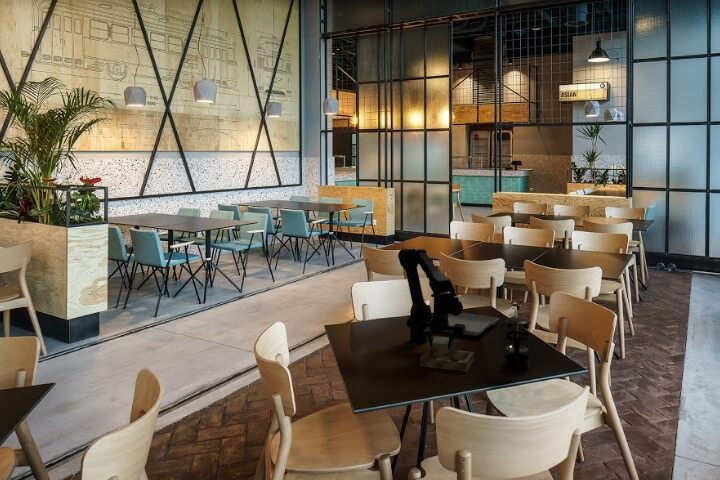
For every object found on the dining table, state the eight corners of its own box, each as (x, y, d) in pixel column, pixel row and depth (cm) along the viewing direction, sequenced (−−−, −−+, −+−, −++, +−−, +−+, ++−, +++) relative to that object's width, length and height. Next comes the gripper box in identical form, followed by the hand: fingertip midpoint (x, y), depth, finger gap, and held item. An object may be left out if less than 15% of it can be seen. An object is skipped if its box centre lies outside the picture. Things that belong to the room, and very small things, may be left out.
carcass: (420, 366, 216) (420, 354, 216) (429, 355, 228) (430, 344, 228) (466, 372, 210) (466, 360, 209) (473, 360, 222) (474, 349, 221)
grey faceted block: (432, 354, 229) (432, 343, 229) (433, 347, 238) (433, 336, 238) (447, 355, 228) (447, 343, 228) (448, 348, 237) (448, 337, 236)
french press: (529, 371, 210) (532, 308, 207) (502, 369, 212) (504, 307, 209) (529, 361, 221) (531, 300, 218) (503, 359, 223) (505, 299, 220)
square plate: (499, 325, 271) (499, 316, 271) (479, 340, 248) (479, 331, 247) (444, 317, 285) (444, 309, 284) (420, 331, 262) (420, 323, 261)
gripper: (411, 312, 227) (411, 352, 229) (460, 317, 220) (459, 357, 222) (420, 306, 237) (419, 343, 239) (466, 310, 230) (465, 349, 232)
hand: (440, 348), depth 233 cm, fingers closed on grey faceted block, 6 cm apart
